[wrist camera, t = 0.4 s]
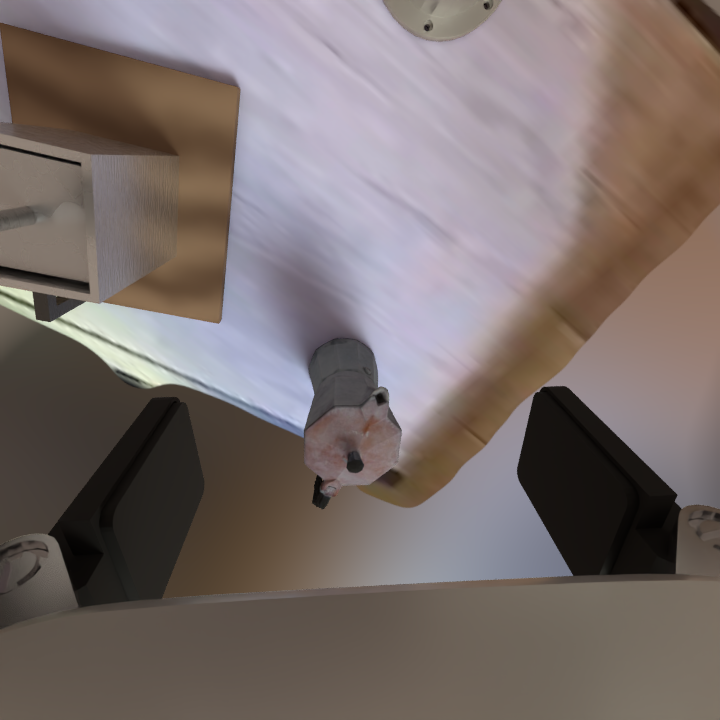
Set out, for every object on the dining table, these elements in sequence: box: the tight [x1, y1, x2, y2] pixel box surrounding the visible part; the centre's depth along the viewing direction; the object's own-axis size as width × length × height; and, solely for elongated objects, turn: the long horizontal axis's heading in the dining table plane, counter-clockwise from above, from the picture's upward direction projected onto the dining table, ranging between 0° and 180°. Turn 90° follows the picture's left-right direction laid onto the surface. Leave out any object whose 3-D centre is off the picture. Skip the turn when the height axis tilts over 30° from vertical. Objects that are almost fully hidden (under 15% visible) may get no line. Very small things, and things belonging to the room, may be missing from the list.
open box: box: [0, 122, 179, 322], centre depth 34 cm, size 13×10×16 cm
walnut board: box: [0, 23, 240, 324], centre depth 41 cm, size 24×20×1 cm
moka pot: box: [304, 339, 402, 509], centre depth 44 cm, size 10×15×20 cm, turn 158°
